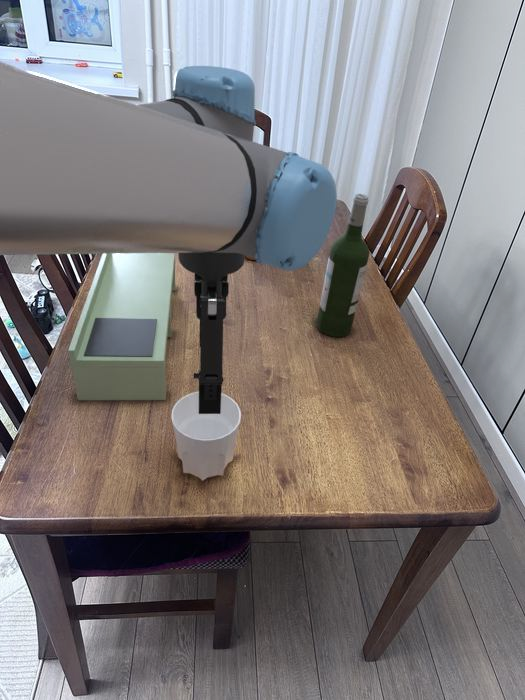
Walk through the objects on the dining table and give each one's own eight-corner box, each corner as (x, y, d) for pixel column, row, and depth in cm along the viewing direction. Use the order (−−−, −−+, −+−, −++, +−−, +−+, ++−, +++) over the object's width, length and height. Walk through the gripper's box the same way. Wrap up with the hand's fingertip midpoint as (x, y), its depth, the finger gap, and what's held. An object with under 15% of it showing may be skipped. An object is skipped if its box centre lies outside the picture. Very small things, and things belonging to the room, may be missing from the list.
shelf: (165, 400, 86) (163, 351, 79) (77, 400, 84) (67, 350, 77) (175, 287, 117) (174, 245, 110) (111, 285, 115) (106, 242, 108)
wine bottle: (355, 336, 107) (389, 204, 89) (321, 338, 105) (348, 203, 87) (344, 316, 113) (373, 189, 95) (312, 317, 111) (335, 188, 93)
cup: (166, 442, 78) (164, 398, 72) (225, 429, 82) (228, 385, 76) (182, 492, 71) (181, 447, 65) (246, 475, 75) (250, 431, 69)
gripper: (255, 290, 44) (242, 446, 57) (240, 190, 63) (232, 323, 76) (171, 288, 43) (177, 447, 56) (181, 187, 63) (184, 323, 75)
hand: (209, 376), depth 66 cm, fingers open, 13 cm apart
